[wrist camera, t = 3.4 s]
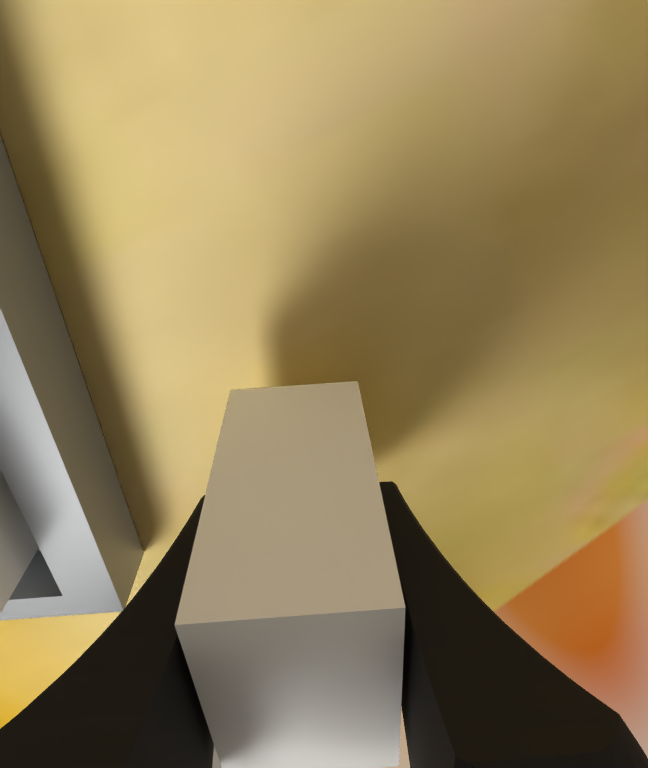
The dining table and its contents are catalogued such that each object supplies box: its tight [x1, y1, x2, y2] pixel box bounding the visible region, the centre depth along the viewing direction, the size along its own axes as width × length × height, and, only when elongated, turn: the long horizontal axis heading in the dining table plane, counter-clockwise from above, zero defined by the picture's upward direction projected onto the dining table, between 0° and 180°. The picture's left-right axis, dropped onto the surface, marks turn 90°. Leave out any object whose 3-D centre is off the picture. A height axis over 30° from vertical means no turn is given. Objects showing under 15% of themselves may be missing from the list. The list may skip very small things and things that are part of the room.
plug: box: [175, 381, 405, 768], centre depth 12 cm, size 5×4×7 cm
